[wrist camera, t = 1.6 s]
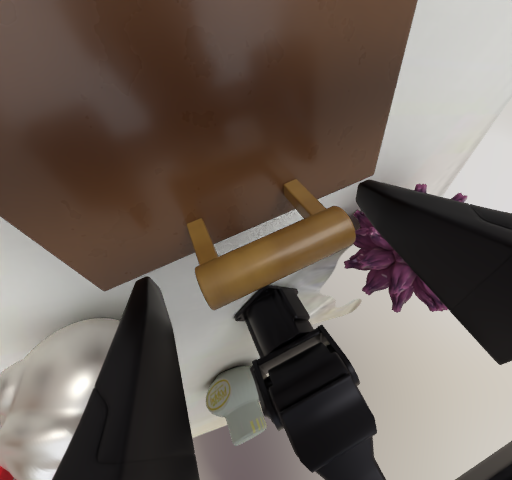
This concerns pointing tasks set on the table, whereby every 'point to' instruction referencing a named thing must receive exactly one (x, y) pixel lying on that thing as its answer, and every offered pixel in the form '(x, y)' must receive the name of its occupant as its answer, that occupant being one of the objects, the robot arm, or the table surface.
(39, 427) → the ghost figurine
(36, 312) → the table surface
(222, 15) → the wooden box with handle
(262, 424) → the air freshener
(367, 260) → the purple spiky ball
